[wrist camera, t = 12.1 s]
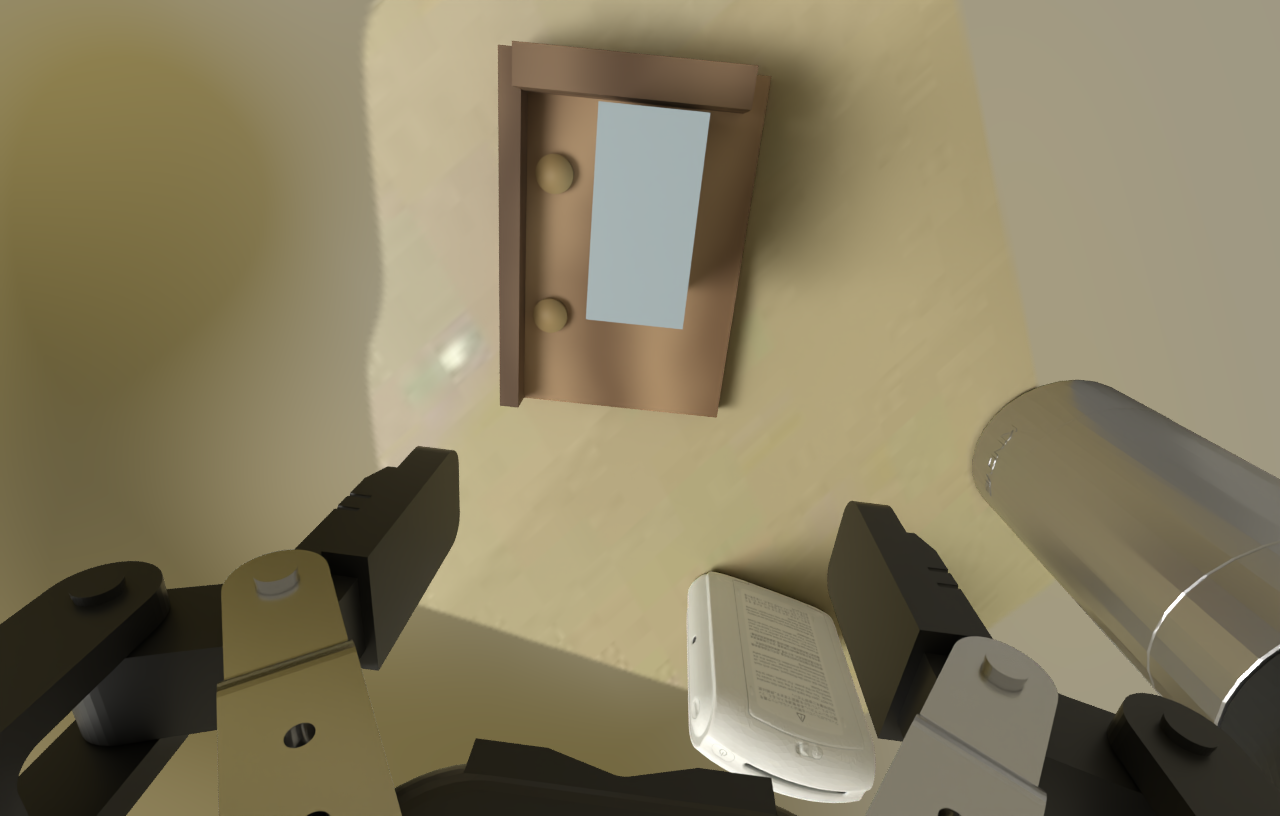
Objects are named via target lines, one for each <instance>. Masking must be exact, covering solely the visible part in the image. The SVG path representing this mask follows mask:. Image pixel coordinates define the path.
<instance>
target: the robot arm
mask: <svg viewBox="0 0 1280 816" xmlns="http://www.w3.org/2000/svg"><path fill="white" fill-rule="evenodd" d="M972 474H973V477H974V481H975V484H976V487H977V489H978V490H979V492H980V494H981V495H982V497H983V498H984V499H985V500H986V502H987V503H988V504H989V505H990V506H991V507H992V508H993V509H994V511H995V512H996V513H997V514H998V515H999V516H1000V517H1001V518H1002V519H1003V521H1004V522H1005V523H1006V524H1007V525H1008V526H1009V527H1010V528H1011V529H1012V531H1013V532H1014V533H1015V534H1016V535H1017V537H1018V538H1019V539H1020V540H1021V541H1022V542H1023V543H1024V544H1025V546H1026V547H1027V548H1028V549H1029V550H1030V551H1031V552H1032V553H1033V554H1034V556H1035V557H1036V558H1037V559H1038V560H1039V561H1040V562H1041V563H1042V565H1043V566H1044V567H1045V568H1046V569H1047V570H1048V571H1049V572H1050V573H1051V575H1052V576H1053V577H1054V578H1055V579H1056V580H1057V581H1058V582H1059V583H1060V585H1061V586H1062V587H1063V588H1064V589H1065V590H1066V591H1067V592H1068V594H1070V596H1071V597H1072V598H1073V599H1074V600H1075V601H1076V602H1077V604H1078V605H1079V606H1080V607H1081V608H1082V609H1083V610H1084V611H1085V612H1086V614H1087V615H1088V616H1089V617H1090V618H1091V619H1092V620H1093V621H1094V622H1095V624H1096V625H1097V626H1098V627H1099V628H1100V629H1101V630H1102V631H1103V633H1104V634H1105V635H1106V636H1107V637H1108V638H1109V639H1110V640H1111V642H1112V643H1113V644H1114V645H1115V646H1116V647H1117V648H1118V649H1119V650H1120V652H1121V653H1122V654H1123V655H1124V656H1125V657H1126V658H1127V659H1128V660H1129V662H1130V663H1131V664H1132V665H1133V666H1134V667H1135V668H1136V669H1137V671H1138V672H1139V673H1140V674H1141V675H1142V676H1143V677H1144V678H1145V679H1146V681H1147V682H1148V683H1149V684H1150V685H1151V686H1152V687H1153V688H1154V689H1155V691H1156V692H1157V693H1158V694H1159V695H1160V696H1157V695H1153V694H1146V693H1136V694H1132V695H1129V696H1128V697H1126V699H1125V700H1124V701H1123V703H1122V705H1121V706H1120V708H1119V710H1118V711H1117V713H1116V714H1114V713H1111V712H1108V711H1106V710H1102V709H1100V708H1097V707H1094V706H1092V705H1089V704H1086V703H1083V702H1080V701H1077V700H1075V699H1072V698H1069V697H1066V696H1064V695H1061V694H1059V693H1058V692H1057V688H1056V686H1055V685H1054V682H1053V681H1052V679H1051V678H1050V676H1049V675H1048V674H1047V673H1046V672H1045V671H1044V669H1042V668H1041V666H1039V665H1038V664H1037V663H1036V662H1035V661H1034V660H1032V659H1031V658H1030V657H1028V656H1027V655H1025V654H1024V653H1022V652H1021V651H1019V650H1017V649H1015V648H1014V647H1011V646H1009V645H1007V644H1005V643H1003V642H1000V641H997V640H994V639H992V637H991V636H990V634H989V632H988V631H987V629H986V628H985V626H984V625H983V623H982V621H981V620H980V618H979V617H978V615H977V614H976V612H975V611H974V609H973V608H972V606H971V604H970V603H969V601H968V600H967V598H966V597H965V595H964V594H963V592H962V591H961V589H958V584H957V583H956V581H955V580H954V578H953V577H952V575H951V574H950V573H948V569H947V567H946V566H945V564H944V563H943V561H942V560H941V558H940V557H939V555H938V554H937V552H936V551H935V550H934V549H933V548H932V547H930V546H929V545H928V544H927V543H926V542H924V541H923V540H922V539H921V538H920V537H918V536H917V535H916V534H915V533H907V532H906V531H905V529H904V528H903V526H902V524H901V523H900V521H899V519H898V518H897V516H896V514H895V513H894V511H893V509H892V508H891V507H890V506H888V505H880V504H872V503H864V502H856V501H850V502H849V503H848V504H847V506H846V508H845V510H844V513H843V517H842V520H841V524H840V527H839V531H838V534H837V538H836V541H835V545H834V548H833V551H832V555H831V558H830V562H829V567H828V577H827V582H828V591H829V595H830V598H831V601H832V604H833V607H834V610H835V613H836V616H837V619H838V622H839V625H840V628H841V631H842V634H843V637H844V640H845V643H846V646H847V648H848V651H849V654H850V657H851V660H852V663H853V666H854V669H855V672H856V675H857V678H858V681H859V684H860V687H861V690H862V693H863V696H864V699H865V702H866V705H867V707H868V710H869V713H870V716H871V719H872V722H873V725H874V728H875V731H876V734H877V737H878V738H880V739H888V740H895V741H903V742H902V744H901V746H900V748H899V750H898V752H897V754H896V756H895V758H894V760H893V761H892V763H891V765H890V767H889V769H888V771H887V773H886V775H885V777H884V779H883V781H882V783H881V785H880V787H879V789H878V791H877V793H876V795H875V797H874V799H873V801H872V803H871V805H870V807H869V809H868V811H867V813H866V815H865V816H1280V479H1278V478H1277V477H1275V476H1273V475H1271V474H1269V473H1267V472H1266V471H1264V470H1262V469H1260V468H1258V467H1256V466H1255V465H1252V464H1251V463H1249V462H1247V461H1245V460H1243V459H1242V458H1240V457H1238V456H1236V455H1234V454H1232V453H1230V452H1229V451H1227V450H1225V449H1223V448H1221V447H1220V446H1218V445H1216V444H1214V443H1212V442H1210V441H1208V440H1207V439H1205V438H1203V437H1201V436H1199V435H1197V434H1196V433H1194V432H1192V431H1190V430H1188V429H1186V428H1184V427H1182V426H1181V425H1179V424H1177V423H1175V422H1173V421H1172V420H1170V419H1169V418H1166V417H1165V416H1163V415H1161V414H1160V413H1158V412H1156V411H1154V410H1152V409H1150V408H1148V407H1147V406H1145V405H1143V404H1141V403H1139V402H1137V401H1135V400H1134V399H1132V398H1130V397H1128V396H1126V395H1125V394H1123V393H1121V392H1119V391H1117V390H1115V389H1113V388H1112V387H1109V386H1106V385H1103V384H1100V383H1098V382H1093V381H1084V380H1069V381H1059V382H1055V383H1051V384H1047V385H1043V386H1040V387H1038V388H1036V389H1033V390H1031V391H1029V392H1026V393H1024V394H1022V395H1021V396H1019V397H1018V398H1016V399H1015V400H1013V401H1012V402H1010V403H1009V404H1007V405H1006V406H1005V407H1004V408H1003V409H1002V410H1001V411H999V412H998V413H997V414H996V415H995V416H994V417H993V418H992V420H991V421H990V422H989V424H988V425H987V426H986V428H985V429H984V430H983V432H982V434H981V436H980V438H979V440H978V442H977V444H976V447H975V451H974V455H973V459H972ZM459 518H460V507H459V461H458V455H457V453H456V451H454V450H446V449H438V448H430V447H422V446H418V447H416V448H415V449H414V450H413V451H412V452H411V453H410V454H409V455H408V456H407V458H406V459H405V460H404V461H403V462H402V463H401V464H400V465H399V466H398V467H397V468H396V467H386V468H384V469H382V470H380V471H378V472H376V473H374V474H372V475H370V476H368V477H366V478H364V479H363V481H361V483H360V484H359V485H358V486H357V487H356V488H355V489H354V490H353V491H352V492H351V493H350V496H347V497H346V498H345V499H344V500H343V501H342V502H341V503H340V504H339V505H338V508H337V509H334V510H333V511H332V512H331V513H330V514H329V515H328V516H327V517H326V518H325V519H324V520H323V521H322V522H321V523H320V524H319V525H318V526H317V527H316V528H315V529H314V530H313V531H312V532H311V533H310V534H309V535H308V536H307V537H306V538H305V539H304V540H303V541H302V542H301V543H300V544H299V545H298V546H297V547H296V548H295V549H294V550H282V551H276V552H272V553H268V554H264V555H262V556H259V557H257V558H254V559H252V560H250V561H248V562H246V563H244V564H243V565H241V566H239V567H238V568H237V569H235V570H234V571H233V572H232V573H231V574H230V575H229V576H228V577H227V579H226V580H225V582H224V583H223V584H218V585H207V586H197V587H186V588H177V589H176V588H175V589H166V586H165V582H164V579H163V575H162V572H161V570H160V569H159V568H158V567H156V566H154V565H153V564H149V563H145V562H139V561H127V562H116V563H110V564H105V565H101V566H97V567H94V568H90V569H87V570H85V571H82V572H79V573H77V574H74V575H72V576H70V577H68V578H66V579H64V580H62V581H60V582H59V583H57V584H55V585H54V586H52V587H51V588H49V589H48V590H47V591H45V592H44V593H42V594H41V595H40V596H38V597H37V598H36V599H34V600H33V601H32V602H30V603H29V604H28V605H26V606H25V607H23V608H22V609H21V610H19V611H18V612H17V613H15V614H14V615H12V616H11V617H10V618H8V619H7V620H6V621H4V622H3V623H2V624H0V816H126V815H127V813H128V812H129V811H130V810H131V808H132V807H133V806H134V805H135V803H136V802H137V801H138V799H139V798H140V797H141V796H142V794H143V793H144V792H145V790H146V789H147V788H148V787H149V785H150V784H151V783H152V782H153V780H154V779H155V778H156V776H157V775H158V774H159V773H160V771H161V770H162V769H163V767H164V766H165V765H166V763H167V762H168V761H169V760H170V759H171V757H172V756H173V755H174V753H175V752H176V751H177V749H178V748H179V747H180V746H181V744H182V743H183V742H184V741H185V739H186V738H187V737H188V735H189V734H194V733H200V732H207V731H213V730H217V747H218V748H217V750H218V798H219V799H218V800H219V801H218V802H219V816H797V815H795V814H793V813H791V812H789V811H787V810H785V809H783V808H781V807H778V806H776V805H775V799H774V792H773V785H772V778H770V777H762V776H755V775H747V774H740V773H732V772H724V771H717V770H709V769H702V768H695V769H687V770H679V771H671V772H663V773H655V774H647V775H639V776H631V777H621V776H616V775H613V774H611V773H608V772H606V771H603V770H601V769H598V768H596V767H594V766H591V765H588V764H586V763H584V762H581V761H579V760H576V759H574V758H571V757H569V756H566V755H564V754H562V753H559V752H557V751H554V750H552V749H549V748H544V747H536V746H529V745H521V744H514V743H506V742H499V741H491V740H484V739H476V740H475V742H474V745H473V748H472V751H471V754H470V757H469V760H468V762H467V764H461V765H455V766H450V767H446V768H442V769H438V770H435V771H432V772H429V773H427V774H424V775H421V776H418V777H416V778H414V779H412V780H410V781H408V782H406V783H404V784H402V785H400V786H398V787H396V788H395V789H394V785H393V782H392V778H391V774H390V771H389V767H388V763H387V760H386V756H385V752H384V749H383V745H382V742H381V738H380V734H379V731H378V727H377V724H376V720H375V717H374V713H373V709H372V705H371V702H370V698H369V695H368V691H367V687H366V684H365V680H364V677H363V673H362V669H361V668H363V669H371V670H379V669H380V667H381V666H382V664H383V662H384V661H385V659H386V657H387V656H388V654H389V652H390V651H391V649H392V647H393V646H394V644H395V642H396V640H397V639H398V637H399V635H400V633H401V632H402V630H403V629H404V627H405V625H406V624H407V622H408V620H409V618H410V617H411V615H412V613H413V612H414V610H415V608H416V607H417V605H418V603H419V601H420V600H421V598H422V596H423V595H424V593H425V591H426V590H427V588H428V586H429V584H430V583H431V581H432V579H433V578H434V576H435V574H436V573H437V571H438V569H439V568H440V566H441V564H442V562H443V561H444V559H445V557H446V556H447V554H448V552H449V551H450V549H451V547H452V545H453V543H454V541H455V538H456V535H457V531H458V526H459ZM70 711H73V714H74V717H75V719H76V720H75V721H74V722H73V723H72V724H71V725H70V726H69V727H68V728H67V729H66V730H65V731H64V732H63V733H62V734H61V735H60V736H59V737H58V738H57V739H56V740H55V741H54V742H53V743H52V744H51V745H50V746H49V747H48V748H47V749H46V750H45V751H44V752H43V753H42V754H41V755H40V756H39V757H38V758H37V759H36V760H35V761H34V762H33V763H32V764H31V765H30V766H29V767H28V768H27V769H26V770H25V771H24V772H23V773H22V774H21V775H20V776H19V773H20V770H21V768H22V765H23V763H24V761H25V760H26V758H27V757H28V755H29V754H30V752H31V751H32V750H33V748H34V747H35V746H36V745H37V744H38V743H39V742H40V741H41V740H42V739H43V738H44V737H45V736H46V735H47V734H48V733H49V732H50V731H51V730H52V729H53V728H54V727H55V726H56V725H57V724H58V723H59V722H60V721H61V720H63V719H64V718H65V717H66V716H67V715H68V714H69V713H70ZM18 776H19V777H18Z"/></svg>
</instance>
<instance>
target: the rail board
mask: <svg viewBox="0 0 1280 816" xmlns="http://www.w3.org/2000/svg"><path fill="white" fill-rule="evenodd" d="M757 72H758V65H748V64H738V63H728V62H718V61H708V60H698V59H688V58H678V57H668V56H658V55H648V54H638V53H628V52H618V51H608V50H598V49H588V48H578V47H569V46H559V45H549V44H539V43H529V42H519V41H512V46H506V45H498V126H499V308H500V406H510V407H519V405H520V403H521V402H522V400H523V398H534V399H544V400H553V401H563V402H573V403H582V404H592V405H602V406H611V407H621V408H630V409H640V410H650V411H659V412H669V413H679V414H688V415H698V416H708V417H717V412H718V405H719V399H720V393H721V387H722V381H723V374H724V368H725V362H726V356H727V349H728V343H729V337H730V331H731V325H732V318H733V312H734V306H735V300H736V293H737V287H738V281H739V275H740V269H741V262H742V256H743V250H744V244H745V238H746V231H747V225H748V219H749V213H750V206H751V200H752V194H753V188H754V182H755V175H756V169H757V163H758V157H759V150H760V144H761V138H762V132H763V126H764V119H765V113H766V107H767V101H768V94H769V88H770V82H771V76H763V75H757ZM599 101H602V102H611V103H621V104H631V105H641V106H650V107H660V108H670V109H679V110H689V111H699V112H709V113H710V120H709V127H708V135H707V143H706V151H705V159H704V166H703V174H702V182H701V190H700V198H699V205H698V213H697V221H696V229H695V237H694V245H693V252H692V260H691V268H690V276H689V284H688V291H687V299H686V307H685V315H684V323H683V329H674V328H664V327H655V326H645V325H636V324H626V323H616V322H607V321H597V320H588V319H586V308H587V291H588V274H589V257H590V239H591V222H592V205H593V188H594V171H595V153H596V136H597V119H598V102H599Z"/></svg>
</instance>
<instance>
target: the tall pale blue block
mask: <svg viewBox="0 0 1280 816" xmlns="http://www.w3.org/2000/svg"><path fill="white" fill-rule="evenodd" d="M709 120H710V113H709V112H699V111H689V110H679V109H670V108H660V107H650V106H641V105H631V104H621V103H611V102H602V101H599V102H598V119H597V136H596V153H595V171H594V188H593V205H592V222H591V239H590V257H589V274H588V291H587V308H586V319H588V320H597V321H607V322H616V323H626V324H636V325H645V326H655V327H664V328H674V329H683V323H684V315H685V307H686V299H687V291H688V284H689V276H690V268H691V260H692V252H693V245H694V237H695V229H696V221H697V213H698V205H699V198H700V190H701V182H702V174H703V166H704V159H705V151H706V143H707V135H708V127H709Z"/></svg>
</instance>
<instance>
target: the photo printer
mask: <svg viewBox="0 0 1280 816" xmlns="http://www.w3.org/2000/svg"><path fill="white" fill-rule="evenodd" d="M687 659H688V703H689V704H688V706H689V733H690V738H691V742H692V744H693V746H694V747H695V748H696V749H697V750H698V751H700V752H701V753H702V754H703V755H704V756H706V757H707V758H708V759H710V760H711V761H712V762H714V763H716V764H717V765H719V766H721V767H722V768H724V769H726V770H727V771H729V772H732V773H740V774H747V775H755V776H762V777H770V778H772V785H773V791H774V792H777V793H780V794H783V795H787V796H791V797H795V798H799V799H803V800H809V801H815V802H826V803H845V802H854V801H859V800H861V798H862V796H863V794H864V792H865V791H867V790H869V789H871V788H872V785H873V782H874V777H875V767H876V764H875V763H876V758H875V749H874V744H873V740H872V737H871V734H870V731H869V728H868V725H867V722H866V719H865V716H864V712H863V710H862V707H861V704H860V701H859V697H858V695H857V692H856V689H855V686H854V683H853V679H852V676H851V673H850V670H849V667H848V664H847V661H846V658H845V655H844V652H843V649H842V646H841V643H840V640H839V637H838V634H837V630H836V627H835V625H834V622H833V620H832V618H831V617H830V616H829V615H828V614H826V613H825V612H823V611H821V610H819V609H817V608H815V607H813V606H811V605H808V604H805V603H803V602H800V601H798V600H795V599H792V598H790V597H787V596H785V595H782V594H779V593H777V592H774V591H771V590H768V589H766V588H763V587H760V586H757V585H755V584H752V583H749V582H746V581H744V580H741V579H738V578H735V577H731V576H728V575H725V574H721V573H717V572H708V574H703V575H701V576H700V577H698V578H697V579H696V580H695V581H694V582H693V583H692V584H691V586H690V588H689V591H688V608H687Z"/></svg>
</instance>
